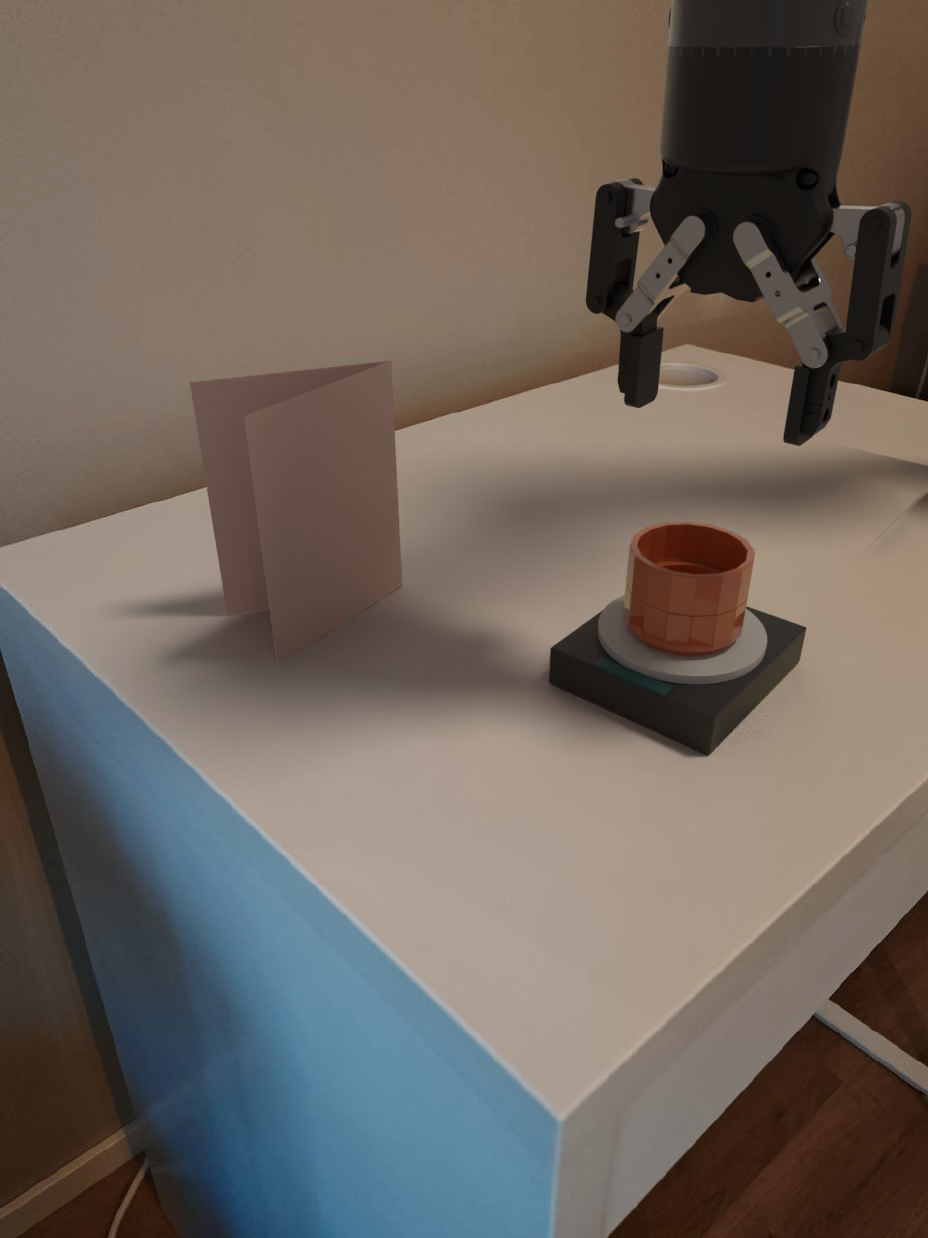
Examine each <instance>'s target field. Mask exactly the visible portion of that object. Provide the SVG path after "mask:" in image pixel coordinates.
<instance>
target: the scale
mask: <svg viewBox="0 0 928 1238" xmlns="http://www.w3.org/2000/svg"><path fill="white" fill-rule="evenodd" d="M624 601H625V593H624V594H623V595H621V596H618V597H617V598H615V599H613V600H612V601H610V602H609V603H608V604H607V605H606V606H605V607H604V608H603V609H602V610H601V611H599V612H598V613H596V614H595V615H594V616H593V617H591V618H590V619H588V620H586V621H585V622H584V623H583V624H581V625H580V626H579V627H577V628H576V629H575V630H573V631H572V632H570V633H569V634H568V635H566V636H565V637H563V638H562V639H561V640H559V641H557V643H555V644H554V645H553V646H551V647H550V649H549V651H550V652H549V654H550V655H549V671H548V672H549V673H548V683H549V684H551V685H553V686H555V687H558V688H559V689H562V690H564V691H566V692H569V693H571V694H573V695H574V696H577V697H580V698H582V699H584V700H586V701H588V702H590V703H593V704H595V705H597V706H600V707H601V708H604V709H606V710H608V711H610V712H612V713H614V714H617V715H618V716H621V717H623V718H626V719H628V720H630V721H632V722H634V723H637V724H639V725H641V726H643V727H645V728H647V729H649V730H651V731H653V732H656V733H659V734H660V735H663V736H665V737H667V738H669V739H672V740H673V741H675V742H678V743H680V744H682V745H684V746H687V747H689V748H692V749H694V750H696V751H697V752H700V753H703V754H704V755H707V756H710V755H711V754H712V753H713V752H714V751H715V750H716V749H717V747H718V746H719V745H720V744H721V743H722V742H723V741H724V740H725V739H726V738H727V737H728V736H729V735H730V734H731V733H732V732H733V731H734V730H735V729H736V728H737V727H738V726H739V725H740V724H741V723H742V722H743V721H744V719H745V718H746V717H748V715H749V714H750V713H751V712H753V710H754V709H755V708H756V707H757V706H758V705H759V704H760V703H761V702H762V701H763V700H764V699H765V698H766V697H767V696H768V695H769V694H770V692H772V691H773V689H775V687H777V685H779V683H781V681H782V680H783V679H784V678H785V677H786V676H787V675H788V674H789V673H790V672H791V671H792V670H793V669H794V668H795V667H796V666H797V665H798V664H799V663H800V661H801V656H802V652H803V647H804V641H805V637H806V632H807V627H806V626H804V625H801V624H799V623H795V622H792V621H790V620H787V619H784V618H782V617H779V616H776V615H773V614H770V613H767V612H765V611H762V610H758V609H756V608H753V607H750V606H748V605H746V611H745V616H744V622H743V628H742V634H741V636H739V637H738V638H737V639H736V640H735V641H734V642H733V643H732V644H731V645H729V646H726V647H724V648H722V649H721V650H719V651H716V652H713V653H710V654H705V655H696V656H687V655H676V654H671V653H666V652H663V651H660V650H657V649H655V648H652V647H650V646H648V645H647V644H645V643H643V642H642V641H641V640H640V639H639V638H637V636H636V635H635V634H634V633H632V632H631V631H630V630H629V629H628V627H627V624H626V622H625V620H624V617H623V611H624Z"/></svg>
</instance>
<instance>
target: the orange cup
mask: <svg viewBox="0 0 928 1238" xmlns="http://www.w3.org/2000/svg"><path fill="white" fill-rule="evenodd" d="M628 547H629V548H628V558H627V569H626V580H625V590H624V594H625V601H624V611H623V617H624V620H625V622H626V624H627V627H628V629H629V630H630V631H631V632H632V633H634V634H635V635H636V636H637V638H639V639H640V640H641V641H642V642H643V643H645V644H647V645H648V646H650V647H652V648H655V649H657V650H660V651H663V652H666V653H671V654H676V655H687V656H696V655H705V654H710V653H713V652H716V651H719V650H721V649H722V648H724V647H726V646H729V645H731V644H732V643H733V642H734V641H735V640H736V639H737V638H738V637H739V636H741V634H742V628H743V622H744V616H745V611H746V606H748V605H747V604H748V598H749V593H750V587H751V580H752V574H753V569H754V563H755V556H756V551H755V549H754V547H753V546H752V545H751V544H750V542H749V541H748V540H747V539H746V538H744V537H743V536H741V535H740V534H738V533H736V532H735V531H733V530H731V529H727V528H724V527H720V526H717V525H714V524H710V523H704V522H694V521H689V520H688V521H685V520H683V521H665V522H660V523H656V524H652V525H649V526H646V527H644V528H642V529H640V530H639V531H637V532H636V533H635V534H633V535H632V538H631V541H630V543H629V546H628Z"/></svg>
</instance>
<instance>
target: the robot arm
mask: <svg viewBox="0 0 928 1238" xmlns="http://www.w3.org/2000/svg"><path fill="white" fill-rule="evenodd" d="M868 5H869V0H671V6H670V9H669V13H668V30H669V32H668V43H667V55H666V56H667V57H666V67H665V81H664V93H663V106H662V118H661V119H662V120H661V128H660V129H661V130H660V143H659V154H660V158H661V165H662V171H661V175H660V179H659V181H658V184H657V186H656V187H655V186H650V185H649V186H648V185H645V184H644V183H643V181H642V180H641V179H640V178H637V177H631V178H624V179H618V180H614V181H612V182H609V183H604V184H602V185H600V186H599V187H598V189H597V191H596V194H595V201H594V212H593V222H592V232H591V240H590V250H589V251H590V252H589V262H588V272H587V280H586V281H587V282H586V283H587V284H586V293H585V305H586V308H587V309H588V311H589V312H590V313H592V314H594V315H598V314H599V315H600V314H603V315H605V316H606V317H607V318H609V319H610V320H612V321H614V322H615V324H616V326H617V328H618V329H619V332H620V333H619V334H620V339H619V354H618V367H617V368H618V369H617V370H618V372H617V386H618V389H619V390H618V391H619V393H621V394H624V397H623V402H624V405H625V406H627V407H632V408H635V409H641V408H643V407H645V406H647V405H649V404H651V403H653V402H654V401H655V400H656V399H657V396H658V393H659V386H660V374H661V365H662V354H663V341H664V331H665V327H664V326H658V320H660V319H661V317H662V316H663V315H664V314H665V313H666V311H667V310H668V309H669V308H670V307H671V306H672V304H673V303H674V302H675V301H676V300H677V299H678V297H680V295H681V294H682V293H684V292H685V291H686V290H688V289H689V288H690V293H691V294H696V295H701V296H702V295H703V296H709V295H715V294H724V295H725V296H728V297H730V298H732V299H734V300H736V301H741V302H748V303H756V302H757V301H759V300H763V299H764V301H765V302H766V304H767V306H768V308H769V310H770V312H771V314H772V316H773V318H774V320H775V321H776V323H778V324H779V325H781V326H783V327H784V328H785V330H786V332H787V334H788V336H789V338H790V340H791V342H792V344H793V345H794V348H795V350H796V352H797V354H798V356H799V358H800V360H801V362H800V363H798V364H796V365H794V370H793V375H792V380H791V381H792V382H791V387H790V395H789V401H788V405H787V406H788V407H787V412H786V417H785V424H784V431H783V436H782V440H783V443H785V444H788V445H792V446H797V447H801V446H802V445H804V444H806V442H808V441H809V440H810V439H812V438H813V437H814V436H815V435H817V434H818V433H819V432H821V431H823V430H824V429H825V428H826V427H827V425H828V423H829V422H830V421H831V419H832V414H833V410H834V404H835V397H836V394H837V389H838V383H839V378H840V373H841V367H842V365H843V363H844V362H848V361H854V362H855V361H856V362H861V361H864V360H866V359H867V358H869V357H871V356H872V355H873V354H875V353H877V352H879V351H880V350H881V349H883V348H884V347H886V346H887V345H889V344H890V343H891V342H892V339H893V337H894V332H895V325H896V320H897V313H898V305H899V301H900V292H901V287H902V279H903V274H904V267H905V260H906V254H907V248H908V242H909V236H910V235H909V234H910V228H911V221H912V209H911V207H910V205H909V204H908V203H907V202H905V201H904V200H900V199H898V200H896V199H895V200H892V201H889V202H887V203H885V204H882V205H877V206H876V205H874V206H872V205H842V203H841V201H840V197H839V193H838V186H837V179H838V172H839V169H840V165H841V161H842V156H843V150H844V145H845V139H846V134H847V127H848V122H849V118H850V117H849V116H850V110H851V104H852V99H853V93H854V87H855V83H856V76H857V70H858V63H859V58H860V51H861V46H862V42H863V41H862V40H863V35H864V29H865V24H866V17H867V11H868ZM649 219H651V221H652V223H653V225H654V227H655V229H656V231H657V233H658V235H659V237H660V239H661V241H662V244H663V245H664V247H663V248H662V250H661V251H660V252H659V254H658V255H657V256H656V257H655V258H654V260H653V261H652V262H651V263H650V265H649V266H648V267H647V269H646V270H645V271H644V273H642V275H641V276H640V278H639V279H638V280H637V282H636V285H637V286H636V288H635V289H634V282H635V276H636V265H637V258H638V250H639V242H640V235H641V231H644V229H646V227H647V226H648V223H649ZM835 235H837V236H838V237H839V238H840V239H841V242H842V249H843V250H842V251H843V255H844V257H845V258H846V259H847V261H849V262H851V263H853V270H852V278H851V285H850V293H849V300H848V308H847V316H846V322H845V323H846V325H845V326H844V324H843V322H842V320H841V318H840V316H839V313H838V312H837V310H836V308H835V305H834V304H833V291H832V288H831V286H830V284H829V282H828V280H827V278H826V276H825V274H824V272H823V270H822V268H821V265H820V264H819V262H818V260H817V258H816V256H817V255H818V253H820V252H821V250H822V249H823V248H824V247H825V246H826V245H827V243H829V241H831V239H832V238H833V237H834V236H835Z"/></svg>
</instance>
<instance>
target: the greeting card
mask: <svg viewBox="0 0 928 1238" xmlns="http://www.w3.org/2000/svg"><path fill="white" fill-rule="evenodd" d="M392 367H393V366H392V360H386V361H385V360H384V361H375V362H365V363H357V364H347V365H337V366H329V367H320V368H318V367H317V368H309V369H299V370H291V371H283V372H282V371H281V372H272V373H264V374H263V373H262V374H253V375H245V376H236V377H226V378H217V379H207V380H197V381H196V380H195V381H189V387H190V393H191V399H192V406H193V412H194V417H195V424H196V430H197V437H198V444H199V449H200V455H201V460H202V467H203V473H204V479H205V480H204V481H205V486H206V492H207V497H208V505H209V510H210V517H211V524H212V528H213V535H214V542H215V547H216V553H217V560H218V566H219V573H220V578H221V585H222V591H223V597H224V604H225V610H226V616H227V617H228V616H233V615H238V614H245V613H250V612H256V611H262V610H268V609H269V616H270V623H271V630H272V631H271V632H272V639H273V646H274V655H275V661H276V665H280V664H281V663H283V662H284V661H286V660H287V659H289V658H290V657H292V656H293V655H295V654H296V653H298V652H300V651H301V650H303V649H304V648H306V647H308V646H309V645H311V644H313V643H314V642H316V641H317V640H319V639H320V638H322V637H324V636H325V635H326V634H328V633H330V632H332V631H333V630H335V629H336V628H338V627H339V626H341V625H342V624H344V623H346V622H347V621H349V620H350V619H352V618H353V617H355V616H356V615H358V614H360V613H361V612H363V611H364V610H366V609H368V608H369V607H371V606H372V605H374V604H375V603H377V602H379V601H381V600H382V599H383V598H385V597H387V596H388V595H390V594H391V593H393V592H394V591H396V590H398V589H399V588H400V587H402V586H403V575H402V574H403V573H402V553H401V551H402V550H401V532H400V531H401V529H400V513H399V511H400V509H399V491H398V489H399V488H398V471H397V470H398V469H397V451H396V449H397V448H396V447H397V446H396V430H395V429H396V427H395V409H394V385H393V371H392V370H393V369H392Z"/></svg>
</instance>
